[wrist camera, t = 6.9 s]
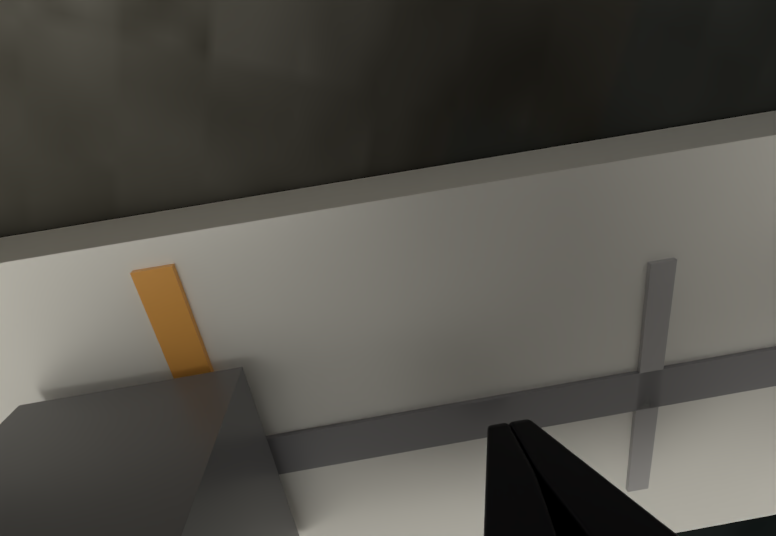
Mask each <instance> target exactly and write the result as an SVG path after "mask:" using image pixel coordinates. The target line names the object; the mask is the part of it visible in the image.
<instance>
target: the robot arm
mask: <svg viewBox="0 0 776 536" xmlns="http://www.w3.org/2000/svg"><path fill="white" fill-rule="evenodd" d="M484 536H678V535H677V534H676V533H674V532H673V531H672V530H671V529H669V528H668V527H667V526H666V525H664V524H663V523H662V522H660V521H659V520H658V519H657V518H655V517H654V516H653V515H651V514H650V513H649V512H648V511H646V510H645V509H644V508H643V507H641V506H640V505H639V504H637V503H636V502H635V501H634V500H632V499H631V498H630V497H628V496H627V495H626V494H625V493H623V492H622V491H621V490H620V489H618V488H617V487H616V486H614V485H613V484H612V483H611V482H609V481H608V480H607V479H606V478H604V477H603V476H602V475H600V474H599V473H598V472H597V471H595V470H594V469H593V468H591V467H590V466H589V465H588V464H586V463H585V462H584V461H583V460H581V459H580V458H579V457H577V456H576V455H575V454H574V453H572V452H571V451H570V450H568V449H567V448H566V447H565V446H563V445H562V444H561V443H560V442H558V441H557V440H556V439H554V438H553V437H552V436H551V435H549V434H548V433H547V432H545V431H544V430H543V429H542V428H540V427H539V426H538V425H537V424H535V423H534V422H533V421H531V420H529V419H524V420H518V421H512V422H510V423H509V424H507V423H500V424H494V425H490V426H488V429H487V455H486V483H485V510H484Z"/></svg>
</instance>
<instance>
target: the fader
mask: <svg viewBox="0 0 776 536" xmlns="http://www.w3.org/2000/svg"><path fill="white" fill-rule="evenodd" d="M0 536H299V533H298V530H297V527H296V524H295V521H294V518H293V515H292V512H291V510H290V507H289V504H288V501H287V498H286V495H285V492H284V489H283V486H282V483H281V480H280V477H279V474H278V471H277V468H276V465H275V462H274V459H273V456H272V453H271V450H270V447H269V444H268V441H267V438H266V435H265V432H264V429H263V426H262V423H261V420H260V417H259V414H258V411H257V408H256V405H255V402H254V399H253V396H252V393H251V390H250V387H249V384H248V382H247V379H246V376H245V373H244V370H243V367H238V368H232V369H227V370H221V371H215V372H209V373H203V374H198V375H192V376H186V377H180V378H174V379H169V380H163V381H157V382H151V383H145V384H140V385H134V386H128V387H122V388H117V389H111V390H105V391H99V392H93V393H88V394H82V395H76V396H70V397H64V398H59V399H53V400H47V401H41V402H35V403H30V404H24V405H19V406H18V407H17V408H16V409H15V410H14V411H13V412H12V413H11V414H10V415H9V416H8V417H7V418H6V419H5V420H4V421H3V422H2V423H1V424H0Z"/></svg>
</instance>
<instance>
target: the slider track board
mask: <svg viewBox="0 0 776 536" xmlns="http://www.w3.org/2000/svg"><path fill="white" fill-rule="evenodd" d="M238 367H243V370H244V373H245V376H246V379H247V382H248V384H249V387H250V390H251V393H252V396H253V399H254V402H255V405H256V408H257V411H258V414H259V417H260V420H261V423H262V426H263V429H264V432H265V435H266V438H267V441H268V444H269V447H270V450H271V453H272V456H273V459H274V462H275V465H276V468H277V471H278V474H279V477H280V480H281V483H282V486H283V489H284V492H285V495H286V498H287V501H288V504H289V507H290V510H291V512H292V515H293V518H294V521H295V524H296V527H297V530H298V533H299V536H484V510H485V483H486V455H487V429H488V426H490V425H494V424H500V423H507V424H509V423H510V422H512V421H518V420H524V419H529V420H531V421H533V422H534V423H535V424H537V425H538V426H539V427H540V428H542V429H543V430H544V431H545V432H547V433H548V434H549V435H551V436H552V437H553V438H554V439H556V440H557V441H558V442H560V443H561V444H562V445H563V446H565V447H566V448H567V449H568V450H570V451H571V452H572V453H574V454H575V455H576V456H577V457H579V458H580V459H581V460H583V461H584V462H585V463H586V464H588V465H589V466H590V467H591V468H593V469H594V470H595V471H597V472H598V473H599V474H600V475H602V476H603V477H604V478H606V479H607V480H608V481H609V482H611V483H612V484H613V485H614V486H616V487H617V488H618V489H620V490H621V491H622V492H623V493H625V494H626V495H627V496H628V497H630V498H631V499H632V500H634V501H635V502H636V503H637V504H639V505H640V506H641V507H643V508H644V509H645V510H646V511H648V512H649V513H650V514H651V515H653V516H654V517H655V518H657V519H658V520H659V521H660V522H662V523H663V524H664V525H666V526H667V527H668V528H669V529H671V530H672V531H673V532H674V533H678V532H683V531H689V530H694V529H700V528H705V527H710V526H716V525H721V524H727V523H732V522H737V521H743V520H748V519H754V518H759V517H764V516H770V515H775V514H776V111H770V112H764V113H758V114H752V115H745V116H739V117H733V118H727V119H721V120H715V121H709V122H703V123H697V124H691V125H684V126H678V127H672V128H666V129H660V130H654V131H648V132H642V133H636V134H630V135H623V136H617V137H611V138H605V139H599V140H593V141H587V142H581V143H575V144H569V145H562V146H556V147H550V148H544V149H538V150H532V151H526V152H520V153H514V154H508V155H502V156H495V157H489V158H483V159H477V160H471V161H465V162H459V163H453V164H447V165H441V166H434V167H428V168H422V169H416V170H410V171H404V172H398V173H392V174H386V175H380V176H373V177H367V178H361V179H355V180H349V181H343V182H337V183H331V184H325V185H319V186H312V187H306V188H300V189H294V190H288V191H282V192H276V193H270V194H264V195H258V196H251V197H245V198H239V199H233V200H227V201H221V202H215V203H209V204H203V205H197V206H190V207H184V208H178V209H172V210H166V211H160V212H154V213H148V214H142V215H136V216H130V217H123V218H117V219H111V220H105V221H99V222H93V223H87V224H81V225H75V226H69V227H62V228H56V229H50V230H44V231H38V232H32V233H26V234H20V235H14V236H8V237H1V238H0V424H1V423H2V422H3V421H4V420H5V419H6V418H7V417H8V416H9V415H10V414H11V413H12V412H13V411H14V410H15V409H16V408H17V407H18V406H19V405H24V404H30V403H35V402H41V401H47V400H53V399H59V398H64V397H70V396H76V395H82V394H88V393H93V392H99V391H105V390H111V389H117V388H122V387H128V386H134V385H140V384H145V383H151V382H157V381H163V380H169V379H174V378H180V377H186V376H192V375H198V374H203V373H209V372H215V371H221V370H227V369H232V368H238Z"/></svg>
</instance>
